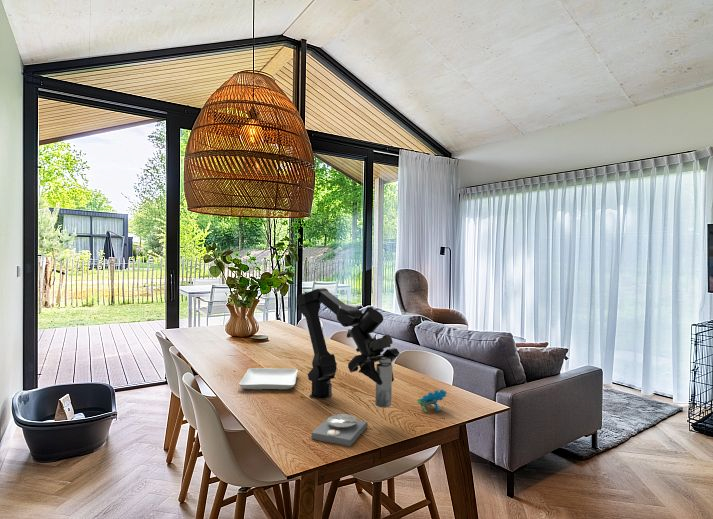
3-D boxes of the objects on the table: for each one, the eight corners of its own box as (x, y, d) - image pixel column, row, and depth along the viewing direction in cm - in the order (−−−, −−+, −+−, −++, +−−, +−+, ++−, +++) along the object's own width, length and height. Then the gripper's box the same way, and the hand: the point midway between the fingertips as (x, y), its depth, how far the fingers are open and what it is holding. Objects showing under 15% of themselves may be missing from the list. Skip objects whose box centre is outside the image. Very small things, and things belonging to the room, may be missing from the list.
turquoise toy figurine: (440, 398, 156) (448, 385, 149) (447, 413, 153) (456, 401, 146) (412, 405, 153) (419, 392, 146) (419, 421, 149) (426, 408, 142)
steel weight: (373, 405, 135) (374, 359, 135) (378, 400, 140) (379, 356, 140) (388, 408, 134) (389, 361, 133) (393, 403, 138) (394, 358, 138)
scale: (311, 438, 125) (311, 430, 125) (331, 420, 138) (331, 413, 138) (350, 446, 120) (350, 438, 120) (366, 427, 134) (367, 420, 134)
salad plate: (294, 392, 164) (294, 383, 164) (238, 392, 163) (238, 383, 163) (298, 376, 186) (298, 368, 185) (248, 376, 184) (248, 367, 184)
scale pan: (322, 424, 128) (322, 422, 128) (334, 413, 136) (334, 412, 136) (350, 429, 125) (350, 427, 125) (361, 418, 133) (361, 416, 133)
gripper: (355, 330, 133) (379, 374, 125) (396, 324, 145) (421, 364, 137) (337, 350, 139) (360, 393, 131) (379, 342, 151) (401, 382, 143)
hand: (387, 382), depth 136 cm, fingers closed on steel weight, 5 cm apart
